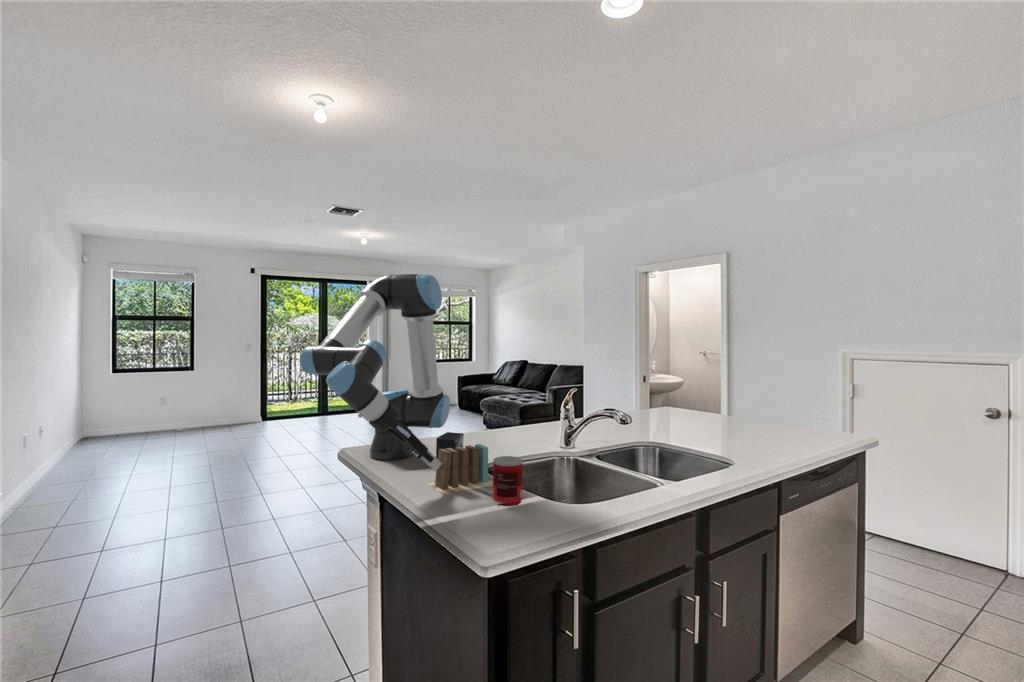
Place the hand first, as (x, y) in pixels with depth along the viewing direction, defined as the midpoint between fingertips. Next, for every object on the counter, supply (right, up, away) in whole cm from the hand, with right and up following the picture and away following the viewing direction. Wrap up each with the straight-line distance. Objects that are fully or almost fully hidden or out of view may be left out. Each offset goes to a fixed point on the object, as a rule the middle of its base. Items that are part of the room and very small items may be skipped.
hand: (437, 466), depth 136 cm
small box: (0, -7, +26) cm, 27 cm away
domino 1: (+1, -6, +1) cm, 6 cm away
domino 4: (+9, -6, +6) cm, 12 cm away
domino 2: (+4, -6, +3) cm, 7 cm away
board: (+6, -7, +5) cm, 10 cm away
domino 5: (+12, -6, +8) cm, 15 cm away
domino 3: (+6, -6, +5) cm, 10 cm away
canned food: (+19, -7, -7) cm, 22 cm away
